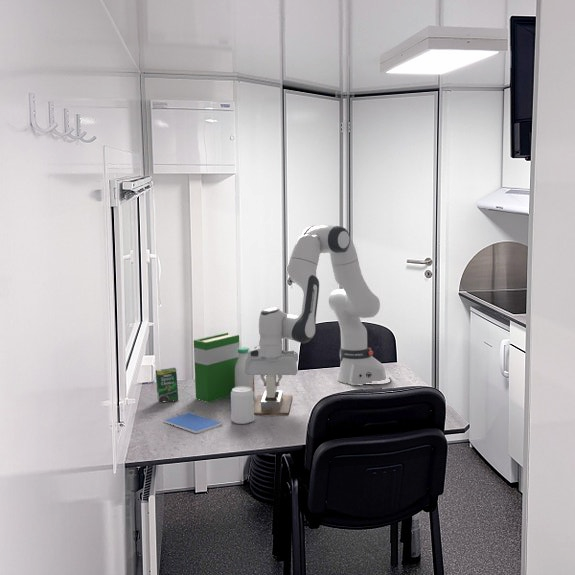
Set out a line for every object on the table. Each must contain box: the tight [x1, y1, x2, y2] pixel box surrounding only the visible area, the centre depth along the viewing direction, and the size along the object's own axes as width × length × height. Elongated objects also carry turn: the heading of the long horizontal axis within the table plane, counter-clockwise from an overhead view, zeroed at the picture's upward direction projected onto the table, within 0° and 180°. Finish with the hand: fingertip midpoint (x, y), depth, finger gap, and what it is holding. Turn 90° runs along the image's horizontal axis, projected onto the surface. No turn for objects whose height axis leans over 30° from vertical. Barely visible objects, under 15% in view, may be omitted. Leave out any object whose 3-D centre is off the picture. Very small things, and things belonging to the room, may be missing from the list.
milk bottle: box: [235, 346, 255, 398], centre depth 298 cm, size 8×8×20 cm
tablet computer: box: [163, 412, 223, 434], centre depth 269 cm, size 19×13×1 cm, turn 46°
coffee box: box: [155, 367, 179, 403], centre depth 295 cm, size 8×3×13 cm, turn 110°
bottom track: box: [261, 390, 284, 410], centre depth 288 cm, size 7×15×3 cm, turn 176°
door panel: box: [265, 375, 278, 398], centre depth 287 cm, size 3×10×8 cm, turn 176°
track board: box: [254, 394, 293, 416], centre depth 288 cm, size 14×22×1 cm, turn 176°
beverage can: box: [230, 386, 255, 425], centre depth 270 cm, size 8×8×12 cm
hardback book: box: [193, 332, 241, 403], centre depth 301 cm, size 18×7×24 cm, turn 137°
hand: (271, 385), depth 287 cm, fingers closed on door panel, 3 cm apart
